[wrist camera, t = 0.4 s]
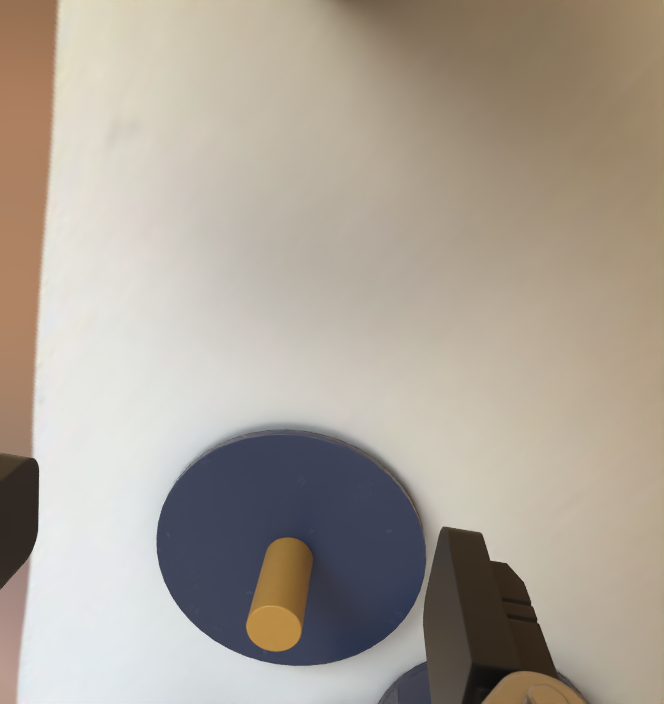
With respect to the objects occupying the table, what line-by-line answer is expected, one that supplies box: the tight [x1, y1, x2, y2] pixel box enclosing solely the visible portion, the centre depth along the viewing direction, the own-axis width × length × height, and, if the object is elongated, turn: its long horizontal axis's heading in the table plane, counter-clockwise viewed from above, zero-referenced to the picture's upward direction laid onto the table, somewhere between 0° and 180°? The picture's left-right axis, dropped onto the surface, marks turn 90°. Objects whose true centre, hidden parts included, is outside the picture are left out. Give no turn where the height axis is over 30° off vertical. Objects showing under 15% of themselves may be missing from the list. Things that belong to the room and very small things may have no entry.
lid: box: [157, 430, 426, 666], centre depth 30 cm, size 14×14×6 cm
